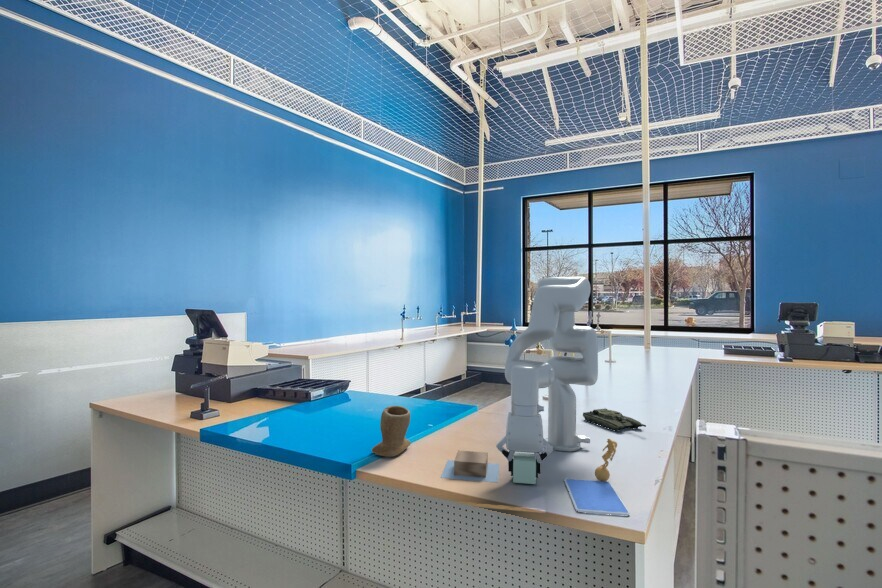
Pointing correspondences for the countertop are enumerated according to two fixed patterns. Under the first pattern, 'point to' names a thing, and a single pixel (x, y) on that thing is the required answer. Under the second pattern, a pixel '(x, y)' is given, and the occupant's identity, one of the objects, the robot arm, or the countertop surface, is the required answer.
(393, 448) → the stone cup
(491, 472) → the light blue mat
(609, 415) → the toy tank
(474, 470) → the walnut base block
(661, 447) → the countertop surface
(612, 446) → the figurine
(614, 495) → the tablet computer
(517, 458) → the sage cube
